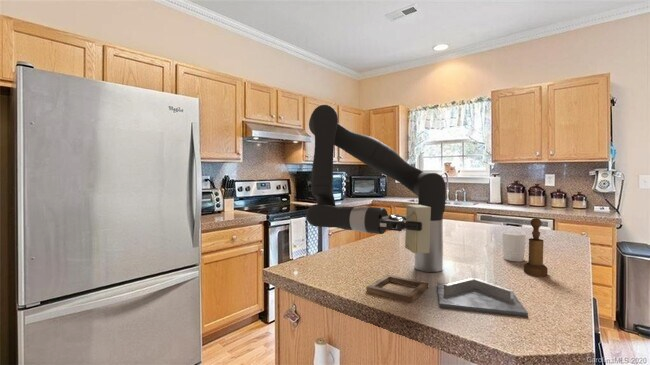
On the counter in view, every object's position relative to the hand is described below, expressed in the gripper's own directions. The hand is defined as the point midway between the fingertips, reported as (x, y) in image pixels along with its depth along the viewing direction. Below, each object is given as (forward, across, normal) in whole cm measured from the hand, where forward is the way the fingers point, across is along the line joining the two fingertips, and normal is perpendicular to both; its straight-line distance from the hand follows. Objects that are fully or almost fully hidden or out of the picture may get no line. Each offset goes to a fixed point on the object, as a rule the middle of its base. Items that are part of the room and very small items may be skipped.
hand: (425, 224), depth 84 cm
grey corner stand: (+12, +6, +19) cm, 23 cm away
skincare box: (-2, 0, +7) cm, 8 cm away
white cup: (+19, +55, +19) cm, 61 cm away
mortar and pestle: (+25, +39, +19) cm, 50 cm away
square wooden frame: (-8, +2, +20) cm, 21 cm away
